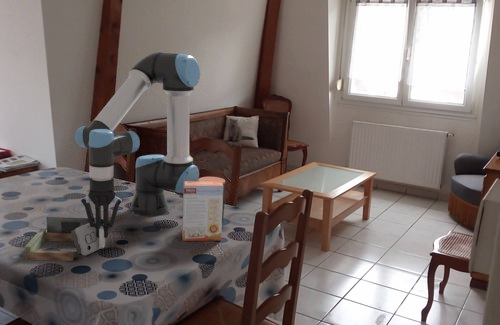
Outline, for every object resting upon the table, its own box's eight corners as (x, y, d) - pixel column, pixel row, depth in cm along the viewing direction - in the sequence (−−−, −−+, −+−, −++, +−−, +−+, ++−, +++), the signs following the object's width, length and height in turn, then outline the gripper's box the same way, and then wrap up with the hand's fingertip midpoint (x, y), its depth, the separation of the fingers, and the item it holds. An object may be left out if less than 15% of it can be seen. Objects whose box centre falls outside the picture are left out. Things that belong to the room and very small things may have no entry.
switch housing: (97, 235, 183) (97, 214, 182) (94, 240, 179) (93, 218, 177) (50, 234, 182) (50, 212, 180) (46, 239, 177) (46, 217, 176)
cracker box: (219, 235, 191) (222, 180, 187) (221, 241, 186) (224, 185, 181) (181, 235, 189) (183, 180, 184) (182, 241, 183) (184, 184, 179)
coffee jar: (196, 219, 207) (198, 176, 203) (222, 220, 208) (225, 177, 204) (195, 228, 196) (197, 183, 192) (223, 229, 197) (225, 184, 193)
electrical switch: (84, 257, 165) (80, 229, 163) (72, 255, 167) (68, 228, 166) (104, 247, 173) (101, 221, 172) (92, 246, 175) (89, 220, 174)
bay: (85, 240, 179) (85, 229, 178) (72, 260, 162) (72, 248, 161) (41, 239, 177) (41, 228, 176) (24, 259, 161) (24, 247, 160)
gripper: (124, 175, 170) (123, 242, 175) (83, 174, 168) (84, 241, 174) (120, 181, 162) (120, 251, 167) (78, 180, 161) (79, 250, 166)
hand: (102, 246), depth 170 cm, fingers closed
